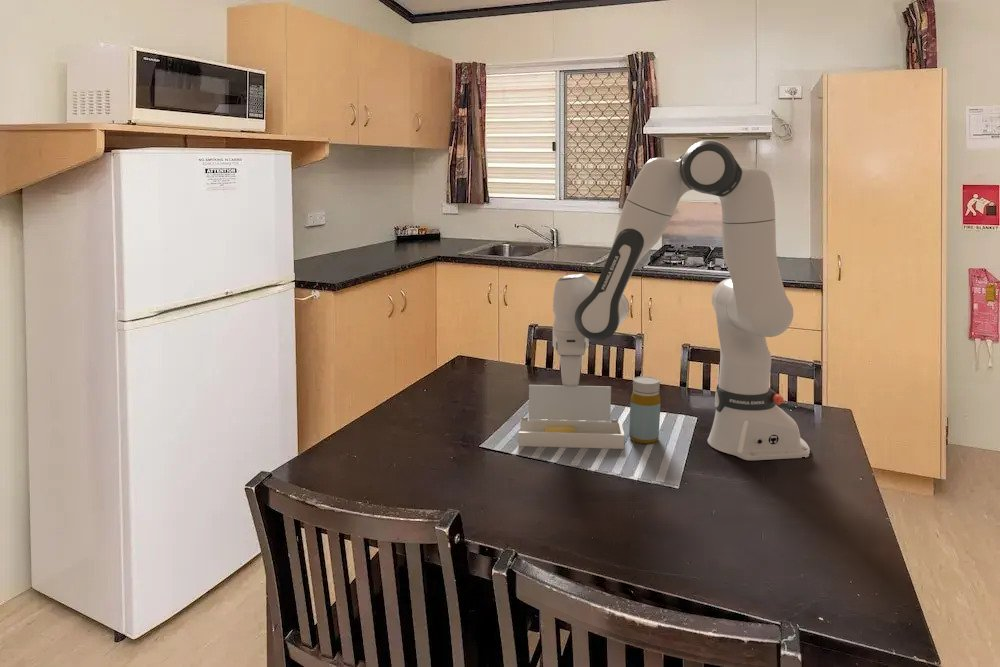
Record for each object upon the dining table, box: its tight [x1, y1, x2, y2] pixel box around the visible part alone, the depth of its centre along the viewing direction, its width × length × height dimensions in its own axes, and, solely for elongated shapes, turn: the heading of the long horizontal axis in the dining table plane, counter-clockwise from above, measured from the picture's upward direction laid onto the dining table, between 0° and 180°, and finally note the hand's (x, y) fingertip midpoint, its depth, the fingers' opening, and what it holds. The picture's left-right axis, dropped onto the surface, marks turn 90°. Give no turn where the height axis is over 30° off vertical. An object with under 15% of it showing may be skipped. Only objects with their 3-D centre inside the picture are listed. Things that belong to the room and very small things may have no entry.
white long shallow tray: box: [518, 416, 625, 450], centre depth 169 cm, size 25×9×4 cm, turn 85°
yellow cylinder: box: [545, 426, 575, 433], centre depth 170 cm, size 7×3×3 cm
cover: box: [528, 384, 612, 422], centre depth 173 cm, size 20×8×1 cm
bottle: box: [628, 375, 661, 445], centre depth 168 cm, size 7×7×15 cm
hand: (569, 393), depth 176 cm, fingers closed
